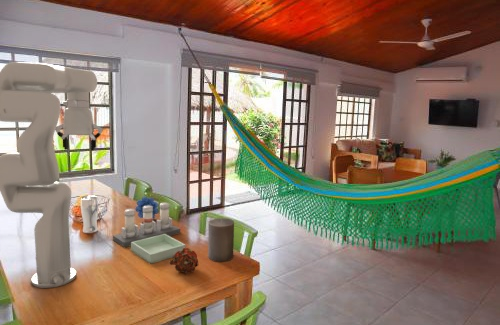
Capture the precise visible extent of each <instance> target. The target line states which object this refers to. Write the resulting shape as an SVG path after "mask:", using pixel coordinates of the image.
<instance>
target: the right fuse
mask: <svg viewBox="0 0 500 325" xmlns="http://www.w3.org/2000/svg"><path fill="white" fill-rule="evenodd" d="M169 217H170V203H169V202H160V203H159V220H160V221H161V229H162V230H165V229H169Z"/></svg>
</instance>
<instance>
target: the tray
mask: <svg viewBox="0 0 500 325" xmlns="http://www.w3.org/2000/svg"><path fill="white" fill-rule="evenodd" d="M183 248H186V244H185V243H183V242H181V241H179V240H178V239H176V238H174V237H172V236H168V235H166V234H162V235H158V236H154V237H150V238H146V239H142V240H138V241H134V242H131V246H130V251H131V252H132V253H133V254H135V255H137V256H138V257H139V258H141V259H142V260H144V261H146V262H147V263H149V264H150V265H152V264H155V263H158V262H161V261H162V262H163V261H165V260H168V259H173V258H172V257H174V254H175V253H176V252H177V251H182V250H183ZM174 258H175V257H174Z"/></svg>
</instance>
